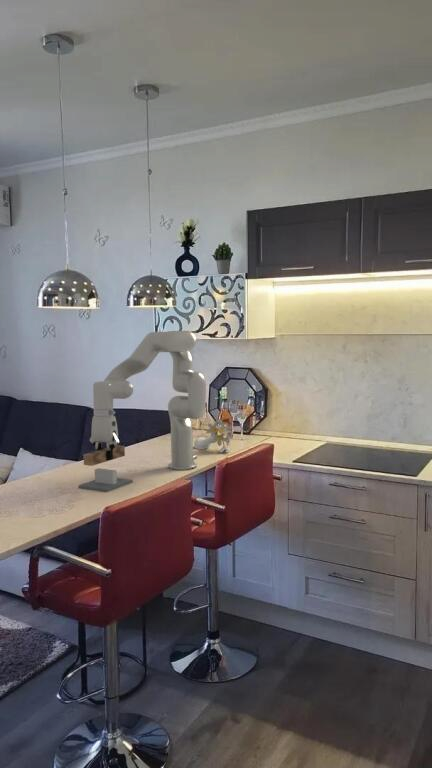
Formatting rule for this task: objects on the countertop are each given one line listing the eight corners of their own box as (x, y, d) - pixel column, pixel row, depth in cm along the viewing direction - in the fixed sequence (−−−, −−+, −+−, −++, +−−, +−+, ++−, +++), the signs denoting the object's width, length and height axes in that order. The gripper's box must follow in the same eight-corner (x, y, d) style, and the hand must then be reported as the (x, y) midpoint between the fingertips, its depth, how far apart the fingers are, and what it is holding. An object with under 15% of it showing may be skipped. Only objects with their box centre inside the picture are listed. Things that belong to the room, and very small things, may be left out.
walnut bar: (117, 454, 241) (116, 445, 241) (124, 455, 240) (124, 446, 239) (83, 464, 224) (83, 454, 224) (92, 465, 222) (91, 455, 222)
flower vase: (198, 469, 301) (225, 451, 283) (182, 436, 305) (208, 417, 287) (217, 461, 310) (244, 443, 292) (201, 430, 313) (227, 410, 295)
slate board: (105, 478, 243) (104, 464, 242) (132, 482, 236) (132, 467, 236) (78, 487, 229) (77, 472, 229) (107, 492, 222) (106, 476, 222)
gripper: (126, 413, 229) (127, 459, 231) (93, 410, 237) (94, 455, 239) (114, 415, 223) (115, 463, 224) (80, 413, 231) (81, 459, 232)
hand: (104, 458), depth 232 cm, fingers closed on walnut bar, 4 cm apart
